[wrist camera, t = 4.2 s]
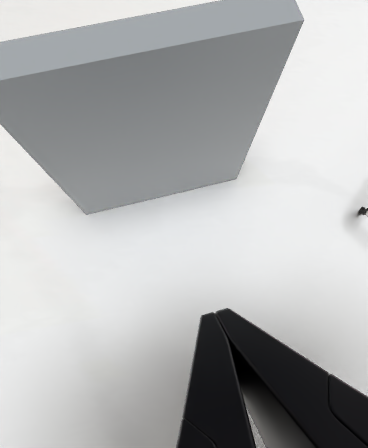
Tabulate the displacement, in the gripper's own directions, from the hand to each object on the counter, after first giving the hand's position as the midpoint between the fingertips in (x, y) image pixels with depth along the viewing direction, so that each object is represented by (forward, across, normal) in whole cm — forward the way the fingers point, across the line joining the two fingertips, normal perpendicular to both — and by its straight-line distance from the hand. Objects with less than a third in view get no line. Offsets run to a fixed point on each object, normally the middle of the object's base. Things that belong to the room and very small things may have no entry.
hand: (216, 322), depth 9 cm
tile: (+17, 0, -2) cm, 17 cm away
